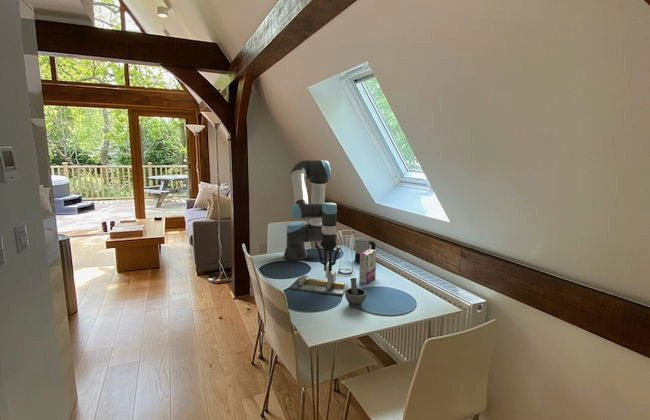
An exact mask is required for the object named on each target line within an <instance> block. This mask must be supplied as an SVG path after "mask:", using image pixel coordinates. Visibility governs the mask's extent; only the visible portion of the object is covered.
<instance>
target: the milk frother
mask: <svg viewBox="0 0 650 420" xmlns="http://www.w3.org/2000/svg"><path fill="white" fill-rule="evenodd" d="M354 240H355V245H354V246H355V249H354V250H355V253H354V262H355V263H357V264H360V254H361V253H363V252H364V251H366V250H368V249H372V250H376V243H375V241H373V240H370V238H368V237H356V238H355V239H354ZM370 245H371V246H370Z"/></svg>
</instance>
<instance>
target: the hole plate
mask: <svg viewBox="0 0 650 420" xmlns="http://www.w3.org/2000/svg"><path fill="white" fill-rule="evenodd" d="M348 287H349V285H348V284H345V287H344V288H339V287H332V286H331V289H327V286H324V285H317V284H310V283H304V284H303V285H302V286H299V282H298V278H297V279H296V280H295V281H294V282H293V283H292V284H291V285H290V286H289V289H290V290H297V291H304V290H307V291H306V292H311V291H315V292H314V293H318V292H322V293H321V294H325V293H330V294H329V295H332V294H336V295H335V296H339V295H340V296H339V297H343V296H344V295H345V291H346V290H347V289H348Z"/></svg>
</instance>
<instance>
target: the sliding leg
mask: <svg viewBox="0 0 650 420" xmlns="http://www.w3.org/2000/svg"><path fill="white" fill-rule="evenodd" d="M336 280H337V271H336V270H332V271H331V272H329V273H328V278H327V280H326V281H327V289H331V284H332V283H334V282H337V281H336Z"/></svg>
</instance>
